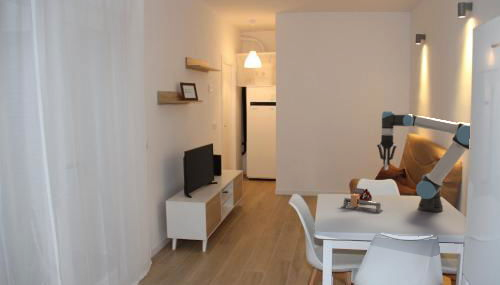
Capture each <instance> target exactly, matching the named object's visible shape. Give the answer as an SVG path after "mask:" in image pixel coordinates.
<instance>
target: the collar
mask: <svg viewBox="0 0 500 285" xmlns="http://www.w3.org/2000/svg"><path fill="white" fill-rule="evenodd" d="M350 199H351V202H350V205H351V206H356V207H357V206H360V204H358V203H357V200H360V194H355V193H352V194H350Z"/></svg>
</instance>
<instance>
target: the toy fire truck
mask: <svg viewBox="0 0 500 285" xmlns="http://www.w3.org/2000/svg"><path fill="white" fill-rule="evenodd" d="M353 192H354V194H360V200H363V201H370V202H373V201H372V200H373V196H372V194H371V192H370V191H369V189H368V188H365V189H364V188H360V187H354V188H353Z"/></svg>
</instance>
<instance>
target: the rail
mask: <svg viewBox="0 0 500 285" xmlns="http://www.w3.org/2000/svg"><path fill="white" fill-rule="evenodd" d="M349 203H351V198H347V197H344V199H343V205H342V206H341V207H340V208H341V209H345V210H352V211H357V212H359V211H360V212H363V213H364V212H366V213H371V214H377V215H379V214H381V213H382V212H383V211H384V210H383V209H382V207H381V203H380V202H375V201H371V202H370V201H363V200H357V203H358V204H359V205H358V206H357V207H356V206H351V204H349ZM360 205H368V206H374V207H375V208H373V207H367V206H366V207H365V206H360Z"/></svg>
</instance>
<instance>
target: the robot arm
mask: <svg viewBox="0 0 500 285" xmlns="http://www.w3.org/2000/svg"><path fill="white" fill-rule="evenodd" d="M394 127H415V128H420V129H425V130H429V131H432V132H433V131H434V132H438V133H443V134H448V135H453V137H452V138H451V141H452V143H451V144H450V145H449V147H448V148H447V150H446V151H445V153H444V154H443V155H442V156H441V158H440V159H439V160H438V162H437V163H436V164H435V165H434V167H433V169H431V171H430V172H429V173H426V174H423V175H422V178H421V180H420V181H419V182H418V183H417V184H416V188H415V190H416V194H417V196H418V197H419V198H420V201H419V203H418V210H421V211H423V212H430V213H440V212H443V211H444V207H443V202H442V199H441V197H442V196H441V195H442V194H441V192H442V187H443V185H444V184H443V181H444V179H445V178H446V177H447V176H448V174H449V173H450V172H451V170H452V169H453V168H454V167H455V165H456V164H457V162H458V161H459V160H460V158H461V157H462V156H463V155H464V153H465V152H466V151H470V150H469V139H470V123H468V122H467V123H466V122H461V121H459V122H457V123H456V122H452V121H447V120H442V119H436V118H431V117H426V116H422V115H415V114H412V113H405V114H395V113H394V111H387V110H386V111H383V112H382V113H381V137H380V138H381V139H380V140H381V141H380V143H379V144H377V145H376V147H377V148H378V152H379V156H380V159H381V160H383V161H382V162H383V163H382V164H383V165H384V171H387V170H389V166H390V162H391V160H393V158H394V156H395V151H396V149H397V147H398V145H397V144H394V129H395V128H394ZM391 148H392V149H391Z"/></svg>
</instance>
